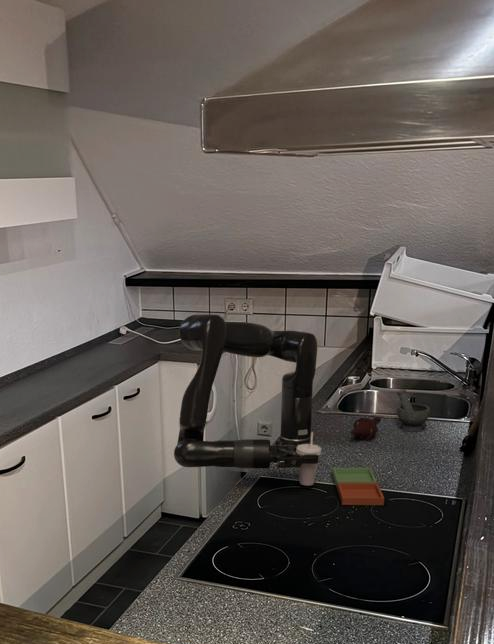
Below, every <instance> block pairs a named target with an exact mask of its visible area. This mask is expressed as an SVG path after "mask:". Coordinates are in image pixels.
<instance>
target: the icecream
mask: <svg viewBox="0 0 494 644" xmlns="http://www.w3.org/2000/svg"><path fill="white" fill-rule="evenodd" d="M381 420H382V418H381V417H379V416H376V417H374V418H372V419H371V418H369V417H360V418H358V419H356V420H354V423H353V428H352V429H351V430H350V434H351V435H354V436H356V437H357V438H358V439H359V440H364V441H369V440H370V439H371V438H373V437H374V436H375V435H376V433H377V432H378V426H377V425H378V424H380V423H381Z"/></svg>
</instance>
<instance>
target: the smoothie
mask: <svg viewBox="0 0 494 644" xmlns="http://www.w3.org/2000/svg"><path fill="white" fill-rule="evenodd" d="M309 442H310V443H301V445H299V446H297V450H296V452H297V453H298V454H303V455H304V454H317V455H318V457H319V458H318V463H317V464H305V463H303V465H301V467H298V478H299V484H300V485H302V486H307V487H309V486H313V485H314V484H315V481H316V475H317V470H318V466H319V461H320V455H321V454H322V447H321V446H319V445H316V444H314V431H311V440H309Z"/></svg>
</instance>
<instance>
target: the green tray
mask: <svg viewBox="0 0 494 644" xmlns="http://www.w3.org/2000/svg"><path fill="white" fill-rule="evenodd" d="M331 472H332V473H331V475H332V478H333V481H334V484H335V487H336V489H337V483H378V481H377V478H376V476H375V474H374V472H373V469H372V467H332V471H331Z"/></svg>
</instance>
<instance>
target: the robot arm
mask: <svg viewBox="0 0 494 644" xmlns="http://www.w3.org/2000/svg"><path fill="white" fill-rule="evenodd" d="M178 336H179V339H180V341H181V343H182V344H183V345H184V346H185V347H186V348H187V349H189V350H192V351H202V353H201V359H200V362H199V365H198V368H197V370H196V371H195V374H194V375H193V377H192V378H191V380H190V382H189V384H188V385H187V387H186V389H185V391H184V393H183V396H182V399H181V404H180V412H179V420H178V422H179V423H178V425H179V432H178V438H177V442H176V446H175V447H174V450H173V457H174V460H175V462H176V463H177V464H178V465H179V466H181V467H184V468H205V467H206V468H207V467H217V468H239V469H270V468H271V463H275V464H276V467H277V468H278V469H285V468H286V469H287V468H289V469H291V468H293V469H294V468H299V467H301V465H303V463H305V464H317V463H318V464H319V461H318V458H319V459H320V456H319V457H318V455H317V454H304V455H303V454H298V453H297V452H296V450H297V446H299V445H302V444H304V443H308V442H310V441H311V432H312V416H313V415H312V412H313V388H314V379H315V376H316V368H317V358H318V339H317V337H316V335H314V334H313V333H311V332H308V331H307V332H306V331H299V330H273V329H270V328H269V327H268V326H265V325H263V324H259V323H253V322H246V321H227V322H226V321H225V319H224V318H223V317H222V316H220V315H219V314H211V313H210V314H208V313H207V314H206V313H205V314H203V313H202V314H191V315H189V316H187V317H186V318H184V319H183V320H182V322H181V323H180V325H179V329H178ZM224 352H225V353H228V354H232V355H237V356H242V357H248V358H264V357H266V356H270V357H274V358H276V359H279V360H282V361H285V362H289V363H295V370H294V371H291V372H287V373H285V374H283V375H282V377H281V406H280V407H281V410H280V413H281V414H280V436H279V438H280V440H275V444H274V445H271V440H270V439H268V438H267V439H266V438H265V439H264V438H263V439H261V438H260V439H259V438H258V439H257V438H256V439H255V438H254V439H253V438H251V439H250V438H249V439H248V438H246V439H245V438H244V439H235V440H233V439H232V440H231V439H220V440H204V439H205V428H206V425H207V421H208V420H207V418H208V413H209V406H210V398H211V394H212V389H213V386H214V382H215V378H216V375H217V373H218V369H219V366H220V363H221V359H222V356H223V353H224ZM281 436H282V437H281Z"/></svg>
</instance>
